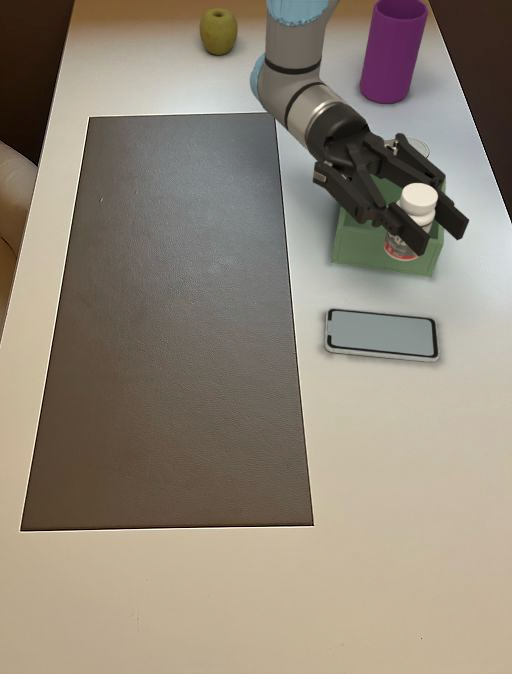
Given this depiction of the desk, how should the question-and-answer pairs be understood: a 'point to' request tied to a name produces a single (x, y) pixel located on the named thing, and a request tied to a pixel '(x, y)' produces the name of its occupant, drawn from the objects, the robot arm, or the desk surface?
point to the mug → (392, 49)
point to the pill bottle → (413, 217)
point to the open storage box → (382, 240)
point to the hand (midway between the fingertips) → (443, 238)
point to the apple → (218, 30)
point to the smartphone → (381, 334)
